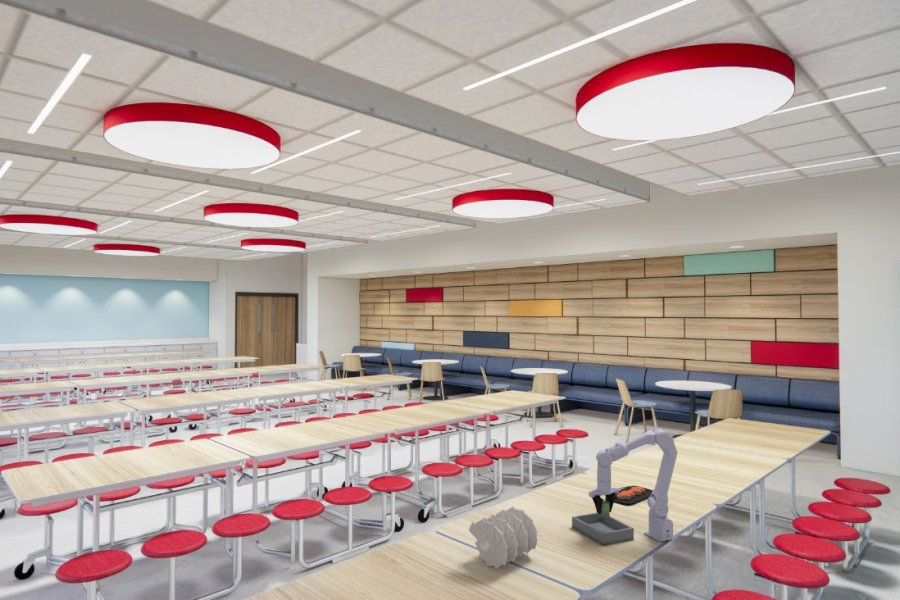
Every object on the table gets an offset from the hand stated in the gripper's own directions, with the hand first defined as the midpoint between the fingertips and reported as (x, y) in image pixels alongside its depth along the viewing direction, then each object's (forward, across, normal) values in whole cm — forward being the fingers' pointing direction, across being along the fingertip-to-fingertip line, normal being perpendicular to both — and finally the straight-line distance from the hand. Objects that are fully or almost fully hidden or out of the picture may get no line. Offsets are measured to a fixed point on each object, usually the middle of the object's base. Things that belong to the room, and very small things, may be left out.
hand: (603, 512), depth 227 cm
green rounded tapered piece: (+2, 0, 0) cm, 2 cm away
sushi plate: (+9, -41, -39) cm, 57 cm away
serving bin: (+9, +1, 0) cm, 9 cm away
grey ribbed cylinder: (+9, +51, +6) cm, 52 cm away
